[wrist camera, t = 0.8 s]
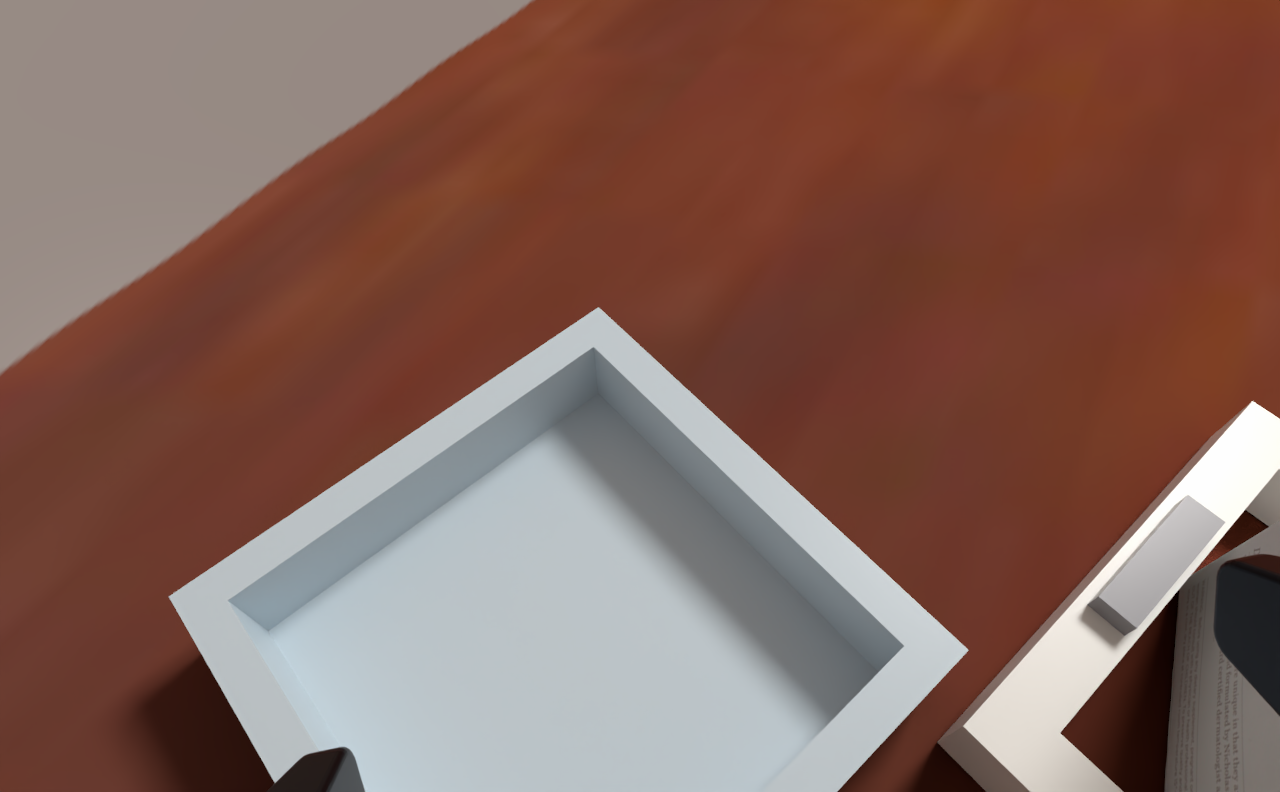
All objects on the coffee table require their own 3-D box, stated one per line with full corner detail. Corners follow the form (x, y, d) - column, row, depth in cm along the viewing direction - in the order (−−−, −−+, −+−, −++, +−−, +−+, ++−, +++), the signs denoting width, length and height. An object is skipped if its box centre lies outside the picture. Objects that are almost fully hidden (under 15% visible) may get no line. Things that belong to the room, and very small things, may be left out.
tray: (930, 682, 21) (968, 650, 18) (516, 1126, 16) (491, 1163, 14) (603, 366, 26) (598, 307, 24) (224, 634, 22) (169, 596, 19)
